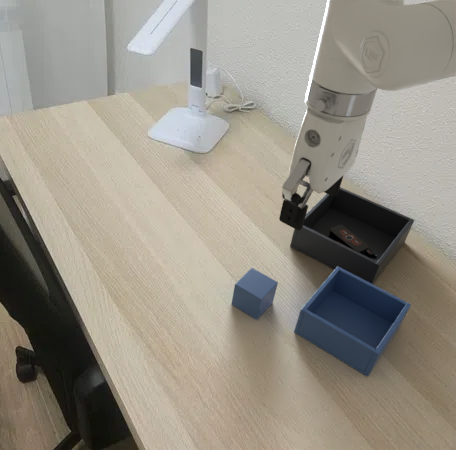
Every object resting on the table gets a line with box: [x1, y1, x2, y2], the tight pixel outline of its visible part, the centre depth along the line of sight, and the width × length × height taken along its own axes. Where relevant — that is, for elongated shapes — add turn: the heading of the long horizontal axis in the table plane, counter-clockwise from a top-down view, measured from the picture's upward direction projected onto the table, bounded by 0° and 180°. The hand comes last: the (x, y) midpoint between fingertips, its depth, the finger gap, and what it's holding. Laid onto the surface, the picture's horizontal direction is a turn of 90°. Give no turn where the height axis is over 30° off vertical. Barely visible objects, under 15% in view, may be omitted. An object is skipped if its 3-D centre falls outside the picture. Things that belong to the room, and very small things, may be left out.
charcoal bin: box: [289, 186, 415, 285], centre depth 91 cm, size 14×14×5 cm
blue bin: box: [293, 266, 412, 377], centre depth 78 cm, size 11×11×5 cm
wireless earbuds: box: [328, 225, 377, 259], centre depth 90 cm, size 5×7×3 cm, turn 31°
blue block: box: [231, 267, 279, 321], centre depth 81 cm, size 4×4×4 cm
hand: (308, 207), depth 75 cm, fingers open, 9 cm apart
